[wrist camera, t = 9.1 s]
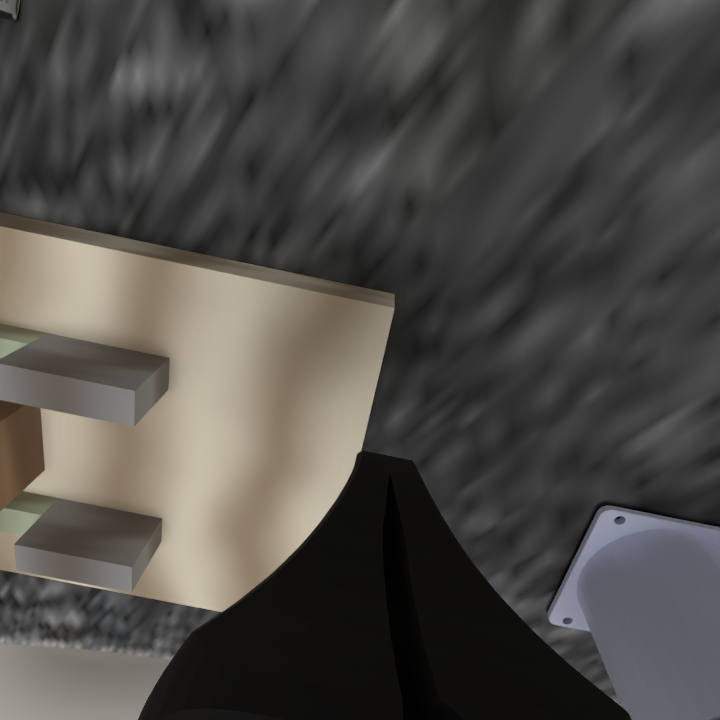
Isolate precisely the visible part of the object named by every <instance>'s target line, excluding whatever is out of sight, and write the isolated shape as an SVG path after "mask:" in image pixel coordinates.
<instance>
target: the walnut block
mask: <svg viewBox="0 0 720 720" xmlns="http://www.w3.org/2000/svg"><path fill="white" fill-rule="evenodd" d="M43 471H45V464H44V450H43V436H42V422H41V408H38V407H33V406H28V405H23V404H18V403H13V402H8V401H3V400H0V511H1V510H2V509H4V508H5V507H6V506H7V505H8V504H9V503H10V502H11V501H12V500H13V499H14V498H15V497H16V496H18V495H19V494H20V493H21V492H22V491H23V490H24V489H25V488H26V487H27V486H28V485H29V484H30V483H32V482H33V481H34V480H35V479H36V478H37V477H38V476H39V475H40V474H41V473H42V472H43Z"/></svg>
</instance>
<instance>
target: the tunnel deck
mask: <svg viewBox="0 0 720 720" xmlns="http://www.w3.org/2000/svg"><path fill="white" fill-rule="evenodd" d="M394 309H395V295H394V294H392V293H387V292H383V291H378V290H373V289H368V288H363V287H358V286H354V285H349V284H344V283H339V282H334V281H330V280H325V279H320V278H315V277H310V276H306V275H301V274H296V273H291V272H286V271H282V270H277V269H272V268H267V267H262V266H258V265H253V264H248V263H243V262H238V261H234V260H229V259H224V258H219V257H214V256H210V255H205V254H200V253H195V252H190V251H186V250H181V249H176V248H171V247H166V246H162V245H157V244H152V243H147V242H142V241H138V240H133V239H128V238H123V237H118V236H114V235H109V234H104V233H99V232H94V231H90V230H85V229H80V228H75V227H70V226H66V225H61V224H56V223H51V222H46V221H42V220H37V219H32V218H27V217H22V216H18V215H13V214H8V213H3V212H0V400H3V401H8V402H13V403H18V404H23V405H28V406H33V407H38V408H41V422H42V436H43V450H44V464H45V471H43V472H42V473H41V474H40V475H39V476H38V477H37V478H36V479H35V480H34V481H33V482H32V483H30V484H29V485H28V486H27V487H26V488H25V489H24V490H23V491H22V492H21V493H20V494H19V495H18V496H16V497H15V498H14V499H13V500H12V501H11V502H10V503H9V504H8V505H7V506H6V507H5V508H4V509H2V510H1V511H0V570H5V571H10V572H15V573H21V574H26V575H31V576H36V577H41V578H47V579H52V580H57V581H62V582H68V583H73V584H78V585H83V586H88V587H94V588H99V589H104V590H109V591H115V592H120V593H125V594H130V595H136V596H141V597H146V598H151V599H156V600H162V601H167V602H172V603H177V604H183V605H188V606H193V607H198V608H204V609H209V610H214V611H219V612H223V611H224V610H226V609H227V608H229V607H230V606H232V605H233V604H234V603H236V602H237V601H238V600H240V599H241V598H242V597H243V596H245V595H246V594H247V593H248V592H250V591H251V590H252V589H253V588H255V587H256V586H257V585H258V584H260V583H261V582H262V581H263V580H264V579H266V578H267V577H268V576H269V575H270V574H272V573H273V572H274V571H275V570H276V569H277V568H278V567H279V566H280V565H281V564H282V563H283V562H284V561H285V560H286V559H287V558H288V557H289V556H290V555H291V554H292V553H293V552H294V551H295V550H296V549H297V548H298V547H299V546H300V545H301V544H302V543H303V542H304V541H305V540H306V538H307V537H308V536H309V535H310V534H311V533H312V532H313V530H314V529H315V528H316V527H317V525H318V524H319V523H320V522H321V520H322V519H323V517H324V516H325V515H326V513H327V512H328V511H329V509H330V508H331V507H332V505H333V504H334V502H335V501H336V499H337V498H338V496H339V494H340V493H341V491H342V489H343V488H344V486H345V484H346V483H347V481H348V479H349V477H350V475H351V473H352V470H353V468H354V465H355V460H356V456H357V453H359V452H361V450H362V445H363V441H364V437H365V433H366V428H367V424H368V420H369V416H370V411H371V407H372V403H373V399H374V394H375V390H376V386H377V382H378V377H379V373H380V369H381V365H382V360H383V356H384V352H385V348H386V343H387V339H388V335H389V331H390V326H391V322H392V318H393V314H394Z"/></svg>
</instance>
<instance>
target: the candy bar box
mask: <svg viewBox="0 0 720 720" xmlns="http://www.w3.org/2000/svg"><path fill="white" fill-rule="evenodd" d="M19 6H20V0H0V17H2V18H5V19H9V20H13V21H14V20H16V19H17V15H18V11H19Z"/></svg>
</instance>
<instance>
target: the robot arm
mask: <svg viewBox="0 0 720 720" xmlns="http://www.w3.org/2000/svg"><path fill="white" fill-rule="evenodd" d="M619 516H621V517H620V518H619V519H615V518H616V517H619ZM547 616H548V619H549V621H550V622H551V623H552V624H554V625H558V626H564V627H569V628H574V629H579V630H584V631H589V632H591V634H592V636H593V639H594V641H595V644H596V646H597V648H598V651H599V653H600V656H601V658H602V660H603V663H604V665H605V668H606V670H607V673H608V675H609V677H610V680H611V682H612V685H613V687H614V690H615V692H616V694H617V697H618V699H619V702H620V704H621V706H620V705H618V704H617V703H616V702H615V701H613V700H612V699H611V698H610V697H609V696H607V695H606V694H605V693H604V692H602V691H601V690H600V689H599V688H597V687H596V686H595V685H594V684H592V683H591V682H590V681H589V680H587V679H586V678H585V677H584V676H582V675H581V674H580V673H579V672H577V671H576V670H575V669H574V668H573V667H572V666H570V665H569V664H568V663H567V662H566V661H565V660H564V659H563V658H562V657H560V656H559V655H558V654H557V653H556V652H555V651H554V650H553V649H552V648H551V647H549V646H548V645H547V644H546V643H545V642H544V641H543V640H542V639H541V638H540V637H539V636H538V635H537V634H536V633H535V632H534V631H533V630H532V629H531V628H530V627H529V626H528V625H527V624H526V623H525V622H524V621H523V620H522V619H521V618H520V617H519V616H518V615H517V614H516V613H515V612H514V611H513V610H512V609H511V608H510V606H509V605H508V604H507V603H506V602H505V601H504V600H503V599H502V598H501V597H500V595H499V594H498V593H497V592H496V591H495V590H494V589H493V587H492V586H491V585H490V584H489V583H488V581H487V580H486V579H485V578H484V576H483V575H482V574H481V573H480V571H479V570H478V569H477V568H476V566H475V565H474V564H473V562H472V561H471V560H470V558H469V557H468V556H467V554H466V553H465V551H464V550H463V548H462V547H461V545H460V544H459V542H458V541H457V539H456V538H455V536H454V535H453V533H452V532H451V530H450V528H449V527H448V525H447V524H446V522H445V520H444V518H443V517H442V515H441V513H440V512H439V510H438V508H437V506H436V505H435V503H434V501H433V499H432V497H431V495H430V494H429V492H428V490H427V488H426V486H425V484H424V482H423V480H422V478H421V476H420V474H419V472H418V470H417V468H416V466H415V464H414V462H413V461H412V460H407V459H402V458H397V457H392V456H387V455H382V454H377V453H372V452H367V451H361V452H359V453H357V456H356V460H355V465H354V468H353V470H352V473H351V475H350V477H349V479H348V481H347V483H346V484H345V486H344V488H343V489H342V491H341V493H340V494H339V496H338V498H337V499H336V501H335V502H334V504H333V505H332V507H331V508H330V509H329V511H328V512H327V513H326V515H325V516H324V517H323V519H322V520H321V522H320V523H319V524H318V525H317V527H316V528H315V529H314V530H313V532H312V533H311V534H310V535H309V536H308V537H307V538H306V540H305V541H304V542H303V543H302V544H301V545H300V546H299V547H298V548H297V549H296V550H295V551H294V552H293V553H292V554H291V555H290V556H289V557H288V558H287V559H286V560H285V561H284V562H283V563H282V564H281V565H280V566H279V567H278V568H277V569H276V570H275V571H274V572H273V573H272V574H270V575H269V576H268V577H267V578H266V579H264V580H263V581H262V582H261V583H260V584H258V585H257V586H256V587H255V588H253V589H252V590H251V591H250V592H248V593H247V594H246V595H245V596H243V597H242V598H241V599H240V600H238V601H237V602H236V603H234V604H233V605H232V606H230V607H229V608H227V609H226V610H224V611H223V612H221V613H220V614H218V615H217V616H215V617H214V618H212V619H211V620H209V621H208V622H206V623H205V624H203V625H202V626H200V627H199V628H197V629H196V630H194V631H193V632H192V633H191V634H190V636H189V637H188V638H187V640H186V641H185V642H184V644H183V645H182V646H181V648H180V649H179V650H178V652H177V653H176V655H175V656H174V657H173V659H172V660H171V662H170V663H169V665H168V666H167V668H166V669H165V671H164V672H163V674H162V675H161V677H160V679H159V680H158V682H157V683H156V685H155V687H154V689H153V691H152V693H151V694H150V696H149V697H148V699H147V701H146V703H145V705H144V707H143V710H142V712H141V714H140V716H139V719H138V720H720V527H716V526H711V525H706V524H701V523H696V522H691V521H686V520H681V519H676V518H671V517H666V516H661V515H656V514H651V513H646V512H641V511H636V510H631V509H626V508H621V507H616V506H609V505H607V506H603V507H601V508H600V509H599V510H598V511H597V513H596V515H595V517H594V519H593V521H592V523H591V525H590V527H589V529H588V531H587V533H586V535H585V537H584V539H583V541H582V543H581V545H580V547H579V549H578V551H577V553H576V555H575V557H574V559H573V561H572V563H571V565H570V567H569V569H568V572H567V574H566V576H565V578H564V580H563V582H562V584H561V586H560V588H559V590H558V592H557V594H556V596H555V598H554V600H553V602H552V604H551V606H550V608H549V610H548V613H547Z"/></svg>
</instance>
